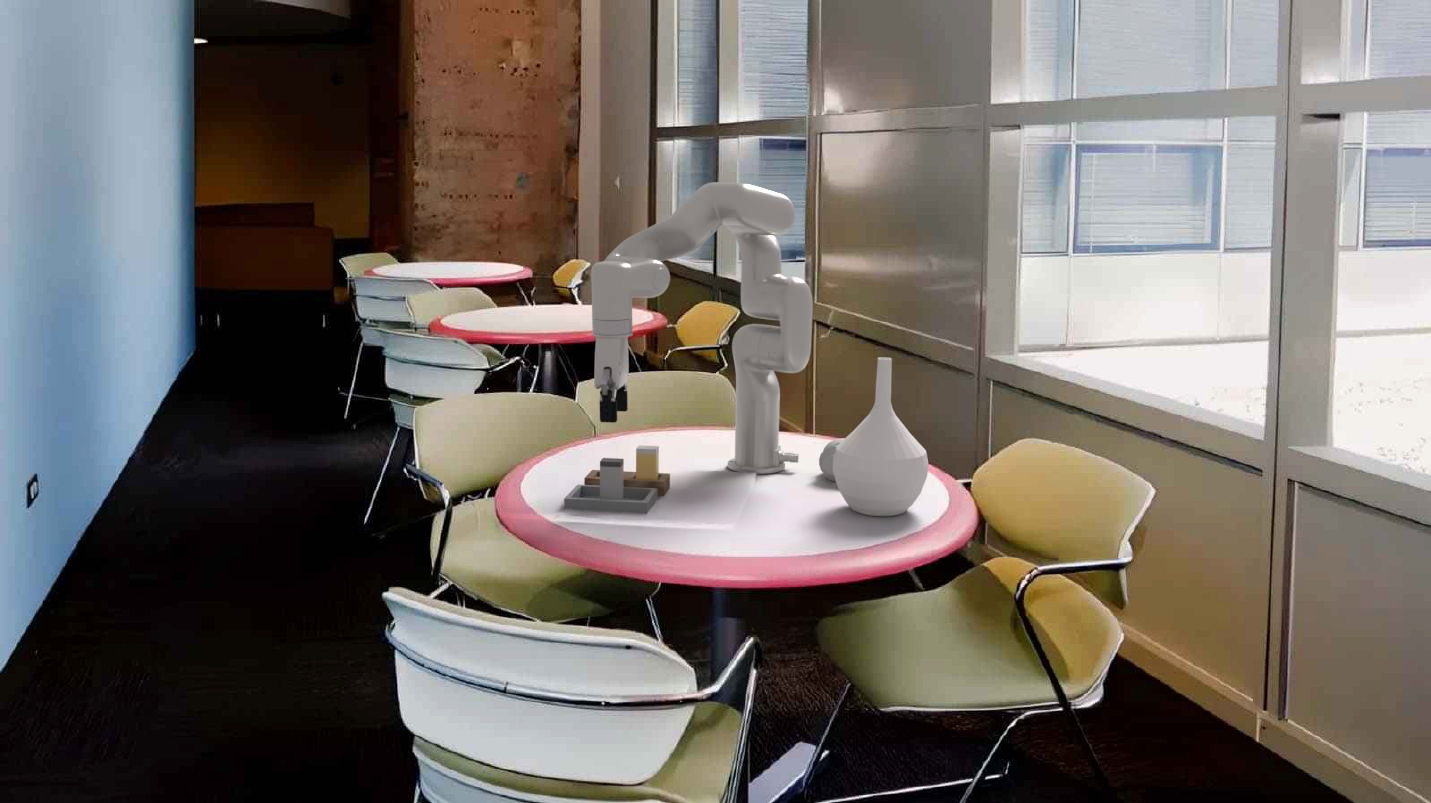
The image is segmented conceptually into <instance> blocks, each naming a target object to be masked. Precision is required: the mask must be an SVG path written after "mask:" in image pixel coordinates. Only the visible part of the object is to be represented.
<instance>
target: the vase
mask: <svg viewBox="0 0 1431 803" xmlns="http://www.w3.org/2000/svg"><path fill="white" fill-rule="evenodd" d="M892 362H893V360H892V357H886V356H885V357H877V363H876V364H877V365H876V366H877V368H876V381H875V395H874V396H875V399H874V400H875V401H874V404H873V407H872V409H871V410H870V412H869V414H868V415H867V416H866V417H864V419H863V420H862V421H861V422H860V423H859V424H858V425H857V426H856V428H855V429H853V430H852V432H850V434H848V435H847V436H846V437H845V439H844V440H843V441H842V442H841V443H840V444H839V445H838V446H837V447H836V450H835V454H834V458H833V473H834V476H835V480H836V482H835V483H836V487H837V490H838V491H839V493H840V494H841V496H842V498H843V499H844V501H845V503H846V504H847V505H848V506H849V507H850V508H851V509H852V510H853V512H854V511H855V512H856V513H859V514H862V515H866V516H873V517H895V516H898V515H901V514H903V513H905V512H906V511H908V509H910V508H911V507H912V506H913V504H914V503H915V502H916V500H917V499H918V498H919V496H920V495H921V494H922V493H921V492H922V491H923V488H924V486H925V482H926V480H927V478H928V471H929V460H928V454H927V450H926V448H924V447H923V446H922V445H921V444H920V442H918V440H917V439H916V438H915V437H914V436H913V434H911V433H910V431H909V430H908V429H907V427H906V426H905V425H904V424H903V423H902V421H901V420H900V419H899V417H898V416H897V415H896V413H895V410H894V408H893V406H892V401H891V400H892Z"/></svg>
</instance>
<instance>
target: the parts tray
mask: <svg viewBox="0 0 1431 803" xmlns="http://www.w3.org/2000/svg"><path fill="white" fill-rule="evenodd" d="M584 497H585V498H584ZM587 497H589V498H587ZM590 497H593V498H590ZM658 498H659V497H658V488H638V487H623V500H610V499H600V486H598V485H584V484H577V485H575V486H574V488H572V489H571V490H570V492H569V493H568V494H567V495H565V497H564V498H563V509H564V510H575V511H579V510H580V511H595V512H613V513H615V512H616V513H632V514H648V513H649V512H650V510H651V509H652V508H653V506H654V505H655V503H656V501H657V500H658ZM627 499H631V500H627ZM632 499H633V500H632Z"/></svg>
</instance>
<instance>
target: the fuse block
mask: <svg viewBox="0 0 1431 803" xmlns="http://www.w3.org/2000/svg"><path fill="white" fill-rule="evenodd" d="M670 484H671V473H663V472H659V473H658V480H650V479H636V471H626V470H625V471H624V472H623V487H638V488H658V498H659V497H660V498H665V496H666V495H667V493H668V492H669V490H670V488H671V485H670ZM583 485H598V486H600V469H592V470H590V471H589V473H588V474H587V475H586V476H585V477H584V483H583Z"/></svg>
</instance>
